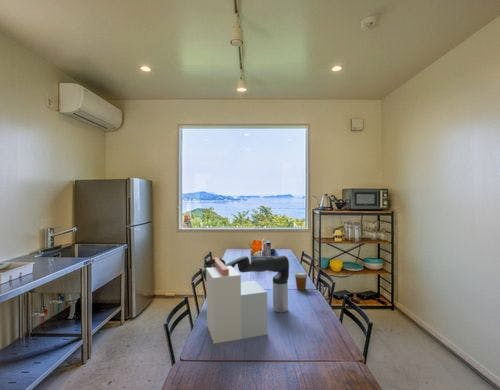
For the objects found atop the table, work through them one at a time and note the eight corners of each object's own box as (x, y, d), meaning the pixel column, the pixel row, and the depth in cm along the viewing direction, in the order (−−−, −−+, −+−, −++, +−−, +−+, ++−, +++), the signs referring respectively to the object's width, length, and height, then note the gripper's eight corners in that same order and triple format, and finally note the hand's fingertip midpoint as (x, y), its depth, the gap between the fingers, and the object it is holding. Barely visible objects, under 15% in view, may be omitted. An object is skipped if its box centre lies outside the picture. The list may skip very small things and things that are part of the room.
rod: (212, 262, 171) (212, 257, 171) (217, 262, 172) (217, 257, 172) (222, 275, 145) (222, 269, 145) (228, 275, 145) (228, 269, 145)
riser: (206, 326, 160) (206, 267, 160) (255, 318, 169) (254, 263, 169) (213, 343, 141) (212, 278, 141) (267, 334, 150) (266, 272, 150)
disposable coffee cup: (299, 286, 226) (299, 270, 226) (310, 289, 219) (309, 273, 219) (292, 289, 219) (291, 273, 219) (302, 292, 212) (302, 275, 212)
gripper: (200, 263, 179) (204, 254, 165) (223, 261, 184) (228, 252, 169) (201, 276, 176) (205, 267, 162) (224, 273, 180) (230, 265, 166)
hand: (217, 260), depth 165 cm, fingers closed on rod, 3 cm apart
